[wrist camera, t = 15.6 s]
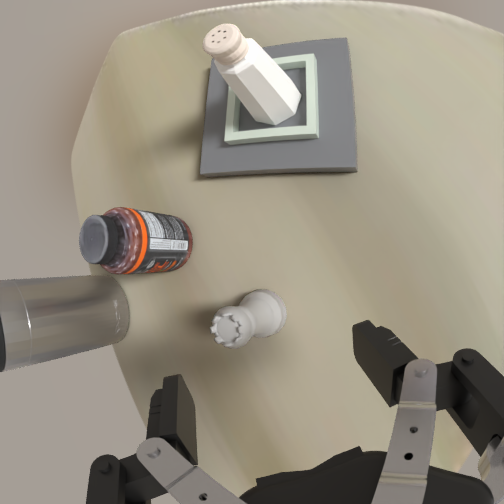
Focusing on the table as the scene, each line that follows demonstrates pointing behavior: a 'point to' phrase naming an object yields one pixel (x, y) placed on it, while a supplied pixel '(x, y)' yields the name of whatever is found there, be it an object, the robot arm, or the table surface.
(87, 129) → the table surface
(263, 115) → the pepper shaker
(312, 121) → the baseplate
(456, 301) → the table surface
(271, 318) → the rook chess piece
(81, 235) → the supplement bottle
